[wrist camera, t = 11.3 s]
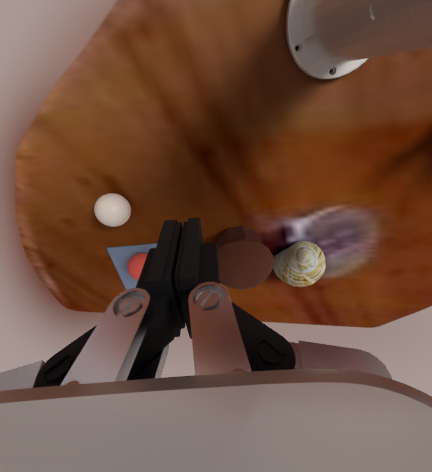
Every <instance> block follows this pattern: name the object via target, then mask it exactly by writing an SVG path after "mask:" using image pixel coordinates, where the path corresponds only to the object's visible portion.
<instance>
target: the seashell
mask: <svg viewBox="0 0 432 472" xmlns="http://www.w3.org/2000/svg"><path fill="white" fill-rule="evenodd" d="M325 268H326V262H325V256H324V254H323V252H322V250H321V249H320V248H319V247H318V246H317V245H315V244H314V243H311V242H308V241H299V242H296V243H294V244H293V245H291V246H290V247H289V248H286V249H285V250H283V251H281V252H280V253H278V254H277V255H276V256H275V257H274V264H273V269H274V272H275V274H276V275H277V277H278V278H280V279H281V280H282V281H284V282H285V283H287V284H289V285H291V286H298V287H302V286H309V285H312V284H314V283H315V282H316V281H317V280H319V279H320V278H321V276H322V275H323V273H324V271H325Z"/></svg>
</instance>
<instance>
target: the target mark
mask: <svg viewBox="0 0 432 472" xmlns="http://www.w3.org/2000/svg"><path fill="white" fill-rule="evenodd" d="M156 246H157V243H154V244H143V245H132V246H121V247H110V248H106V249H107V251H108V253H109V255H110V257H111V259H112V261H113V263H114V265H115V267H116V269H117V272H118V274H119V276H120V278H121V280H122V282H123V284H124V286H125V288H126V290H129V289H132V288H136V285H137V282H138V280H136V279H134V278H132V277H131V276H130V274H129V272H128V268H127V267H128V262H129V260H130V259H131V258H132V257H133V256H134V255H136V254H138V253H147V254H148V251H149V249H151V248H156Z"/></svg>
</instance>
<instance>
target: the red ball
mask: <svg viewBox="0 0 432 472" xmlns="http://www.w3.org/2000/svg"><path fill="white" fill-rule="evenodd" d="M146 257H147V253H138V254H136V255H134V256H133V257H132V258H131V259H130V260H129V262H128V267H127V268H128V272H129V274H130V276H131V277H132V278H134V279H136V280H138V279H139V277H140V274H141V271H142V268H143V265H144V263H145V260H146Z"/></svg>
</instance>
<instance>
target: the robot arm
mask: <svg viewBox="0 0 432 472" xmlns="http://www.w3.org/2000/svg"><path fill="white" fill-rule="evenodd" d="M286 36H287V43H288V47H289V51H290V53H291V55H292V58H293V60H294V62H295V63H296V64H297V66H298V67H299V68H300V69H301V70H302V71H303V72H304V73H305V74H307V75H309V76H311V77H313V78H318V79H333V78H338V77H341V76H344V75H346V74H348V73H350V72H352V71H353V70H355V69H357V68H358V67H359V66H361V65H362V64H363V63H364V62H365V61H367V59H368V58H372V57H378V56H384V55H390V54H396V53H402V52H408V51H414V50H419V49H425V48H431V47H432V0H289V4H288V9H287V17H286ZM296 46H298V50H297V51H296V50H295V47H296ZM330 69H331V73H330V74H329V71H330ZM185 322H186V326H187V329H188V333H189V336H190V338H191V339H192V345H193V355H194V366H195V376H183V377H168V378H161V374H162V371H163V368H164V364H165V361H166V357H167V354H168V349H169V343H170V342H171V341H172V340H173V339H174V337H179V336H180V330H181V328H184V327H185ZM0 472H432V397H431V396H429V395H428V394H426V393H424V392H422V391H420V390H417V389H415V388H413V387H411V386H408V385H406V384H403V383H400V382H397V381H395V380H392V378H391V375H390V374H389V372H388V370H387V369H386V367H385V365H384V364H383V363H382V362H381V361H380V360H379V359H378V358H377V357H375V356H374V355H372V354H370V353H369V352H365V351H362V350H359V349H353V348H346V347H339V346H333V345H326V344H319V343H312V342H305V341H299V343H293V342H288V341H287V340H286V339H285V338H284V337H282V336H281V335H279V334H278V333H277V332H275V331H274V330H272V329H271V328H269V327H268V326H266V325H265V324H263V323H262V322H260V321H259V320H257V319H256V318H254V317H253V316H252V315H250V314H249V313H247V312H246V311H244V310H243V309H241V308H240V307H238V306H237V305H235V304H234V303H232V302H231V300H230V296H229V293H228V291H227V289H226V288H225V287H224V286H223V285H222V284H220V271H219V259H218V249H217V242H214V243H203V237H202V230H201V224H200V218H190V219H188V221H187V222H184V224H183V228H182V224H181V222H177V220H168V221H164V224H163V227H162V231H161V234H160V237H159V240H158V243H157V246H156V248H151V249H149V251H148V254H147V257H146V260H145V263H144V265H143V268H142V271H141V274H140V277H139V279H138V282H137V285H136V288H132V289H129V290H126V291H124V292H122V293H120V294H119V295H118V296H116V297H115V298H114V300H113V301H112V302H111V303H110V305H109V307H108V308H107V310H106V312H105V313H104V315H103V317H102V318H101V320H100V321H99V323H98V325H96V326H95V327H93V328H92V329H90V330H89V331H88V332H86V333H85V334H83V335H82V336H81V337H79V338H78V339H77V340H75V341H73V342H72V343H71V344H69V345H68V346H66V347H65V348H64V349H62V350H61V351H59V352H58V353H56V354H55V355H54V356H53V357H51V358H50V359H49V360H48V361H47V362H46V363H45V362H44V361H39V362H36V363H33V364H29V365H25V366H22V367H19V368H16V369H12V370H9V371H6V372H2V373H0Z"/></svg>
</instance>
